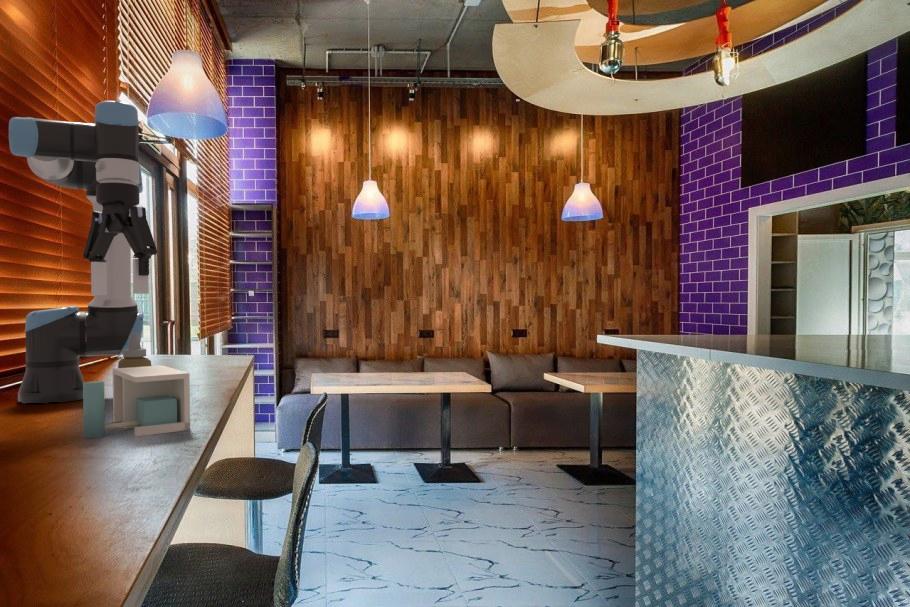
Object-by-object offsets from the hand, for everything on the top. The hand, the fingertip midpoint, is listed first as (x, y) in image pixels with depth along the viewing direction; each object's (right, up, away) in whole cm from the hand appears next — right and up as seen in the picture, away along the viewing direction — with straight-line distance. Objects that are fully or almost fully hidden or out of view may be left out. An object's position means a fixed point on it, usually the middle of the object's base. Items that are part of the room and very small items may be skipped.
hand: (119, 294), depth 134 cm
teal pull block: (+3, -26, -1) cm, 26 cm away
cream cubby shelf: (+4, -26, +5) cm, 27 cm away
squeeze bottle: (-5, -26, +19) cm, 33 cm away
